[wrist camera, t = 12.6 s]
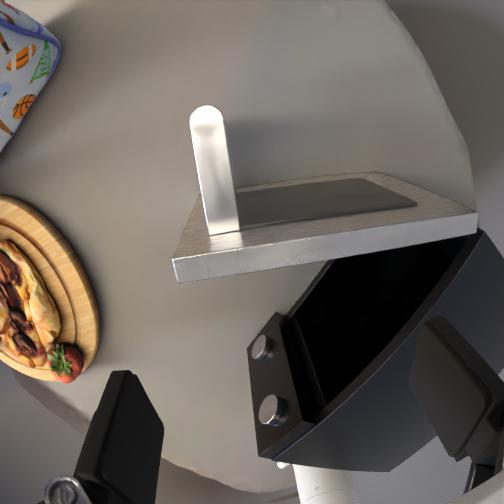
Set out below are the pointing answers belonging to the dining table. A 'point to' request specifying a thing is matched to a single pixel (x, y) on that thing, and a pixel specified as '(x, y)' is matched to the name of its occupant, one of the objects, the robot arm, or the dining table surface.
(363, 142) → the dining table surface
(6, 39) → the lunch box
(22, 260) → the wooden plate
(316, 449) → the microwave
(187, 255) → the microwave door
